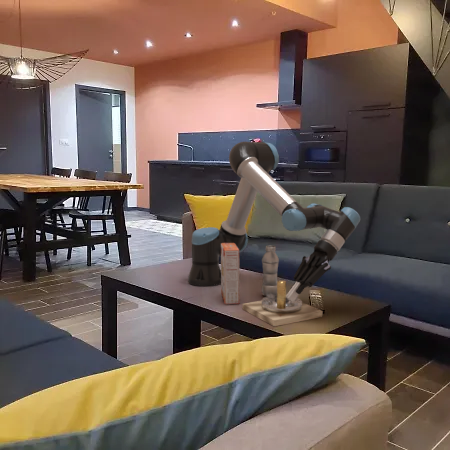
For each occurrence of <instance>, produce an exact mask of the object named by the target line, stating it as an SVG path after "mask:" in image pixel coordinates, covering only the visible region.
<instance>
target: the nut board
mask: <svg viewBox="0 0 450 450" xmlns="http://www.w3.org/2000/svg"><path fill="white" fill-rule="evenodd" d="M242 310H243V311H245V312H247V313H249V314H250V315H252V316H254V317H256V318H258V319H260V320H262V321H263V322H265V323H267V324H269V325H271V326H273V327H277V326H283V325H289V324H293V323H298V322H303V321H308V320H313V319H316V318H322V317H323V312H324V311H323V310H321V309H318V308H317V307H314V306H311V305H310V304H307V303H305V302H302V309H301V310H299V311H297V312H292V313H276V312H271V311H267V310H265V309H263V308H262V300H257V301H251V302H247V303H245V302H244V303H242Z"/></svg>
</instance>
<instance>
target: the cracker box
mask: <svg viewBox="0 0 450 450" xmlns="http://www.w3.org/2000/svg"><path fill="white" fill-rule="evenodd" d="M220 270H221V284H220V285H221V286H220V288H221V290H220V291H221V296H222V300H223V302H224V305H239V304H240V252H239V249H238V247H237V246H236V244H235V243H221V256H220Z"/></svg>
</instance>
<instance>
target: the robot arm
mask: <svg viewBox="0 0 450 450" xmlns="http://www.w3.org/2000/svg"><path fill="white" fill-rule="evenodd" d="M228 160H229V161H228V162H229V165H230V168H231V169H232V170H233V172H234V173H235V174H236V176H238V177H239V178H240V180H239V182H238V186H237V190H236V192H235V194H234V198H233V200H232V203H231V207H230V210H229V211H228V215H227V218H226V220H223V221H222V222H221V225H220V228H217V227H211V226H210V227H209V226H208V227H202V228H198V229H196V230H194V231H193V232H192V234H191V267H190V270H189V274H188V278H187V279H188V281H187V283H188V282H189V283H190V285H192V286H196V287H214V286H218V285H221V266H220V263H219V261H220V260H219V259H220V257H221V243H235V244H236V246H237V247H238V249H239V253H242V252H243V251H245V249H246V247H247V246H248V242H249V238H248V233H247V229H246V225H247V221H248V218H249V216H250V213H251V210H252V208H253V205H254V203H255V200H256V197H257V195H258V194H259V195H260V196H261V197H262V198H263V199H264V200H265V201H266V202H267V203H268V204H269V205H270V206H271V207H272V208H273V209H274V210H275V211H276V212H277V214H279V215H280V217H281V223H282V226H283V228H284V229H286V230H287V231H290V232H293V231H295V232H299V231H300V232H301V231H303V230H309V229H311V230H312V229H316V228H322V229H324V230H325V232H324V233H323V234H322V235H321V237H320V239H319V240H318V241H317V242H316V244H315V245H314V247H313V252H312V253H311V254H309V256H306V255H303V257H302V259H301V262H300V264H299V266H298V268H297V270H296V272H295V273H294V275H293V279H294V283H293V284H292V285H291V287H290V289H289V291H288V292H287V293H286V298H287V299H288V300H289V301H290V302H294V301H295V299H296V298H297V297H298V298H299V295H301V294H302V292H303V291H304V290H305V288H308V287H309V288H312V286H314V285H315V284H316V283H317V282H318V280H319V279H320V278H321V277H322V276H324V275H325V274H326V272H329V270H331V269H332V266H331V265H330V264H329V263H330V261H333V259H334V258H335V257H336V255H337V254H338V252H339V251H340V250H341V248H342V247H343V245H344V244H345V243H346V241H347V240H348V238H349V237H350V236H351V235H352V233H353V232H354V231H355V230H356V229H357V226H358V225H359V223H360V221H361V216H360V214H359V213H358V212H357V210H355V209H354V208H351V207H348V206H347V207H346V206H344V207H343V208H341V209H340V211H338V210H336V209H335V210H334V209H332V208H330V207H327V206H324V205H322V204H317V203H310V204H309V205H307V206H306V207H303V206H302V205H301V204H300V203H299V202H297V201H296V199H295V198H293V196H292V195H291V194H289V193H288V191H286V190H285V189H284V188H283V187H282V186H281V185H280V183H278V182H277V181H276V180H275V179H274V178H273V177H272V176H271V174H269V173H270V172H271V171H274V170H276V169H277V167H278V165H279V161H280V156H279V153H278V149H277V147H276V146H275V145H274V144H273V143H272V142H271V143H270V142H265V141H240V142H237V143H236V144H234V145H233V147H232V148H230V151H229V155H228Z"/></svg>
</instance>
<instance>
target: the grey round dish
mask: <svg viewBox="0 0 450 450" xmlns="http://www.w3.org/2000/svg"><path fill="white" fill-rule="evenodd" d="M286 295H287V281H286V280H277V295H273V294H271V293H269V294H267V296H264V297H262V298H261V301H262V308H263V309H265V310H267V311H271V312H276V313H292V312H297V311H299V310H301V309H302V303H303V301H302V300H301V298H299V296H298V297H297V298H296V299H295V301H294V302H290V301H289V300H288V299H287V298H286Z"/></svg>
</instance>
